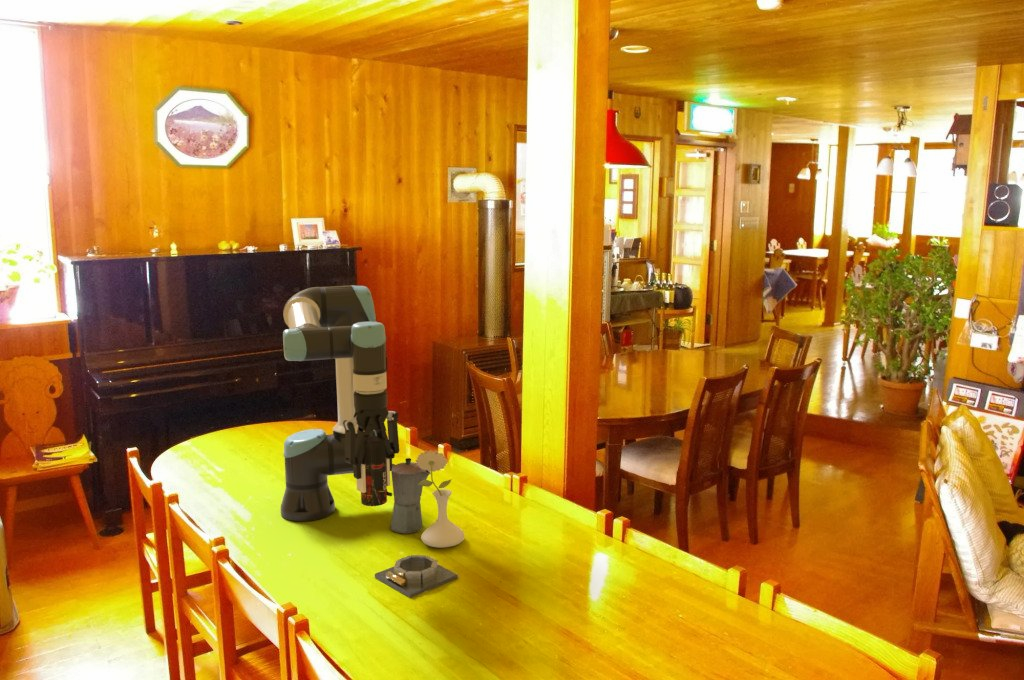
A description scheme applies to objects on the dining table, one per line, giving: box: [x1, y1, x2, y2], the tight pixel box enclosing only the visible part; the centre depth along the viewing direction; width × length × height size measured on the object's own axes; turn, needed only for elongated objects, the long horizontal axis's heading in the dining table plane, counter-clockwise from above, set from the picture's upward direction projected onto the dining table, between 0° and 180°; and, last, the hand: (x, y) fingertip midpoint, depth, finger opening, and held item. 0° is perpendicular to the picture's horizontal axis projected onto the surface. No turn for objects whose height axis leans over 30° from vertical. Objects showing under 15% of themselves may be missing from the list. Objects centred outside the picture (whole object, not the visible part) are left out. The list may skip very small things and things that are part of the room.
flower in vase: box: [415, 449, 466, 549], centre depth 216 cm, size 13×11×25 cm
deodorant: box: [360, 436, 388, 507], centre depth 192 cm, size 6×6×15 cm
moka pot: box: [387, 457, 431, 535], centre depth 225 cm, size 10×15×20 cm, turn 78°
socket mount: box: [374, 554, 459, 599], centre depth 198 cm, size 14×14×4 cm
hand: (373, 487), depth 192 cm, fingers closed on deodorant, 6 cm apart
